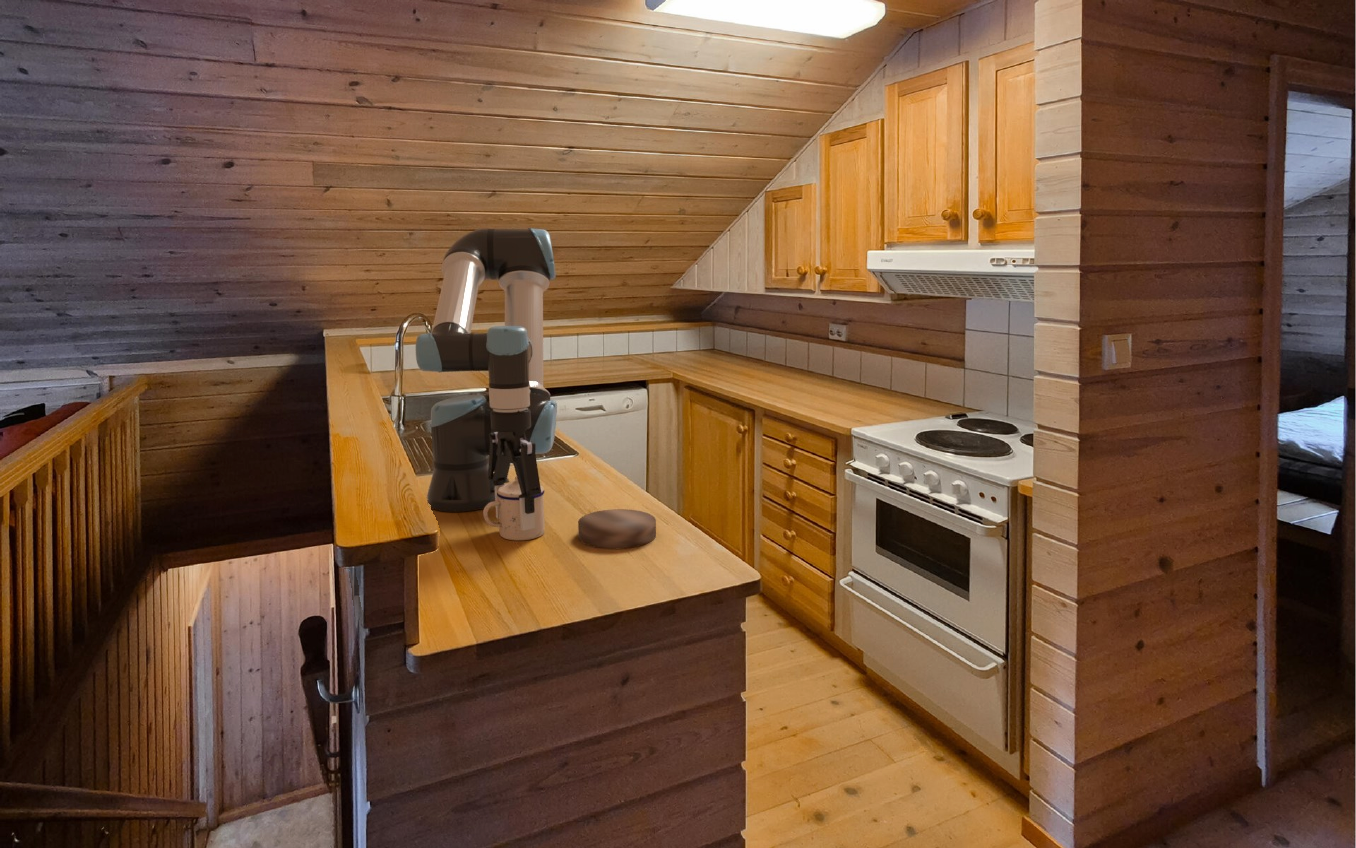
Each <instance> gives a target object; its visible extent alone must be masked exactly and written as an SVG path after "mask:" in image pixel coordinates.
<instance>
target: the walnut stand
mask: <svg viewBox="0 0 1356 848" xmlns="http://www.w3.org/2000/svg"><path fill="white" fill-rule="evenodd" d="M577 523H578V527H577V528H578V539H579V541H580V542H581V543H582V544H585V545H587V546H589V547H592V548H593V547H594V548H598V549H606V550H607V549H608V550H609V549H610V550H621V549H623V550H624V549H631V548H637V547H640V546H641V547H642V546H644V545H646V544H649V543H651V542H652V541H654V540H655V539H656V537H657V536H656V535H657V519H656V517H655V516H654V515H652V514H650V513H648V512H645V511H641V510H635V509H626V508H625V509H623V508H622V509H618V508H617V509H616V508H615V509H604V510H599V511H593V512H590V513H587V514H585V515H583V516H581V517H580V518H579V519H578V522H577Z"/></svg>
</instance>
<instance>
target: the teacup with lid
mask: <svg viewBox="0 0 1356 848" xmlns="http://www.w3.org/2000/svg"><path fill="white" fill-rule="evenodd" d="M506 484H507V485H504V486H502V487H500V488H499V489H498V491H497V496H498V501H493V502H490V503H488V504H487V505H486V506H485V508H483V512H482V513H483V514H482V515H483V518H484V520H485V522H486V523H487V524H488V525H489V526H492V527H496V528H499V535H500V537H501V538H503V539H505V540H510V541H518V542H520V541H521V542H522V541H529V540H533V539H534V540H535V539H537V538H540V537H541V536H543V535H544V534H545V505H544V502H545V501H544V499H545V498H544V494H545V489H544V487H543V486H542V485H541V484H540V487H541V494H537V495H535V496H534V506H535V528H532V529H528V530H524V531H522V530H521V525H520V501H519V495H521V494H522V493H521V490H520V486H519V483H518V479H517V475H516V476H514V480H512V481H509V482H508V483H506ZM496 505H499V519H498V522H497V521H495V522H494V521H491V520H490V518H489V510H490V509H491V508H493V507H496Z"/></svg>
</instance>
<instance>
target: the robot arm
mask: <svg viewBox="0 0 1356 848" xmlns="http://www.w3.org/2000/svg"><path fill="white" fill-rule="evenodd" d="M440 270H441V275H442V277H443V281H442V285H441V288H440V289H441V290H440V294H439V298H438V302H437V307H436V310H435V315H434V319H433V320H434V321H433V325H432V329H431V332H427V333H420V334H418V336H417V338H416V340H415V359H416V363H417V367H418V368H419V370H420V371H422V372H435V373H436V372H437V373H449V372H451V373H453V372H455V373H456V372H488V381H489V382H488V395H489V396H488V397H489V398H488V399H489V401H487V398H486V397H485V395H484V394H469V395H467V394H466V395H462V396H456V397H450V398H447V399H443V400H441V401H438V402H436V403H434V405H433V406H432V407H431V408H430V425H429V427H430V428H431V443H432V444H431V445H432V446H431V447H432V460H433V472H432V476H431V480H430V483H429V486H428V491H427V493H426V496H427V497H426V498H427V499H428V501H427V504H428V503H429V504H430V505H431V508H430V509H432V510H435V511H440V512H447V513H448V512H449V513H451V512H452V513H453V512H454V513H457V512H458V513H459V512H469V511H470V512H471V511H478V510H482V509H484V508H485V506H486V505H487V504H488V503H490V502H493V501H498V496H497V491H498V489H499V488H500V487H502V486H504V485H507V484H509V483H510V480H509V478H508V476H509V472H510V471H509V470H510V467H511V464H513V467H514V468H513V469H514V471H515V474H516V476H517V479H518V483H519V486H520V490H521V493H522V494H521V495H519V501H520V525H521V530H522V531H524V530H528V529H532V528H535V506H534V496H535V495H537V494H541V487H540V485H541V481H540V475H539V469H538V461H537V456H536V455H541V454H547V453H549V452H550V451H551V449H552V448H553V445H554V442H555V441H554V440H555V434H556V427H557V417H558V415H557V414H558V413H557V412H558V405H557V401H555V400H552V399H551V393H550V392H549V390H547V389H546V388H545V387H544V296H543V295H544V292H546V291H547V290H548V289H549V286H550V281H552V280H554V279H556V267H555V261H554V253H553V246H552V240H551V235H550V233H549V232H548V231H547V230H545V229H542V228H541V229H540V228H532V227H528V228H479V229H475V230H472V231H470V232H468V233H466V234H464V235H463V236H462V237H460V238H459V239H457V240H456V241H455V242H454V243H453V244H452V245H451V246H450V247H449V248H448V250H447V252H446V253H445V255H444V257H443V260H442V262H441V269H440ZM484 280H485V281H486V280H493V281H494V280H498V287H500V288H501V289H502V290H503V291H504V325H499V326H498V325H497V326H491V327H489V328H488V329H487V330H486V332H472V327H473V320H474V316H475V315H474V314H475V309H476V302H477V298H478V291H479V286H481V285H482V283H483V282H484ZM495 518H496V519H498V520H499V505H496V506H495Z"/></svg>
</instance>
